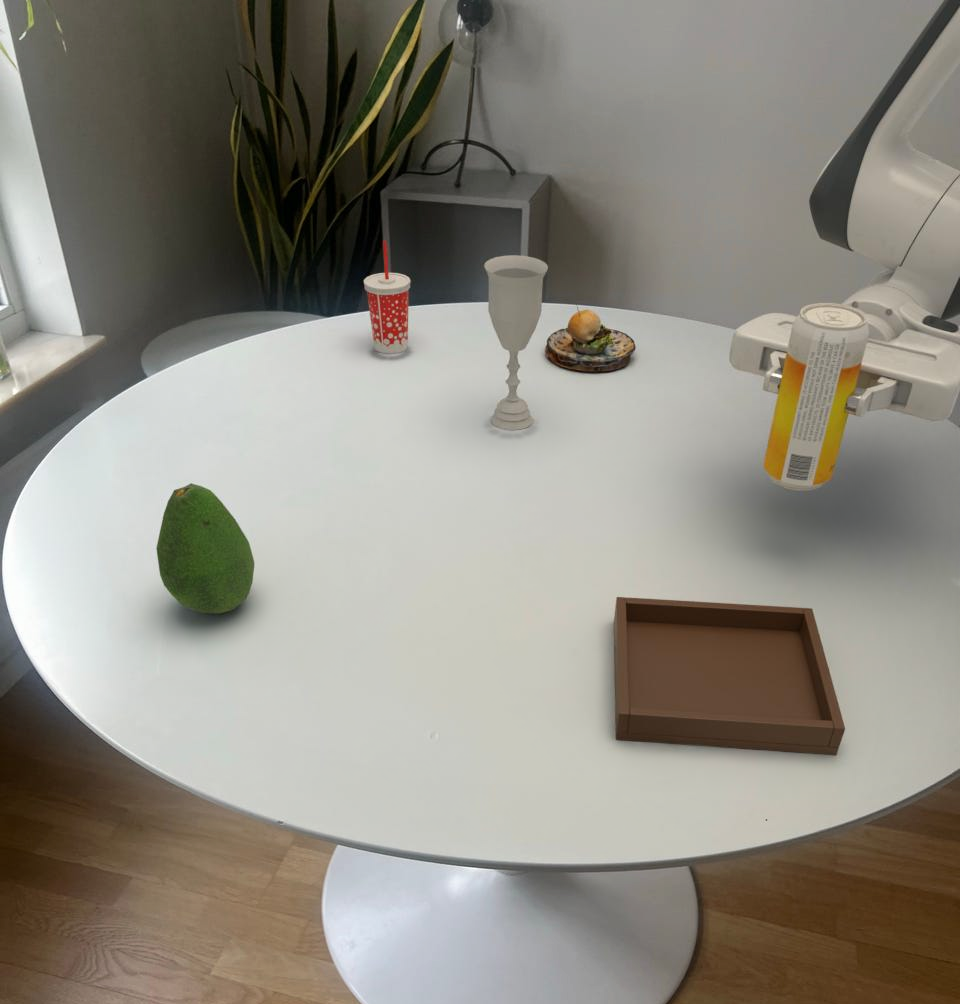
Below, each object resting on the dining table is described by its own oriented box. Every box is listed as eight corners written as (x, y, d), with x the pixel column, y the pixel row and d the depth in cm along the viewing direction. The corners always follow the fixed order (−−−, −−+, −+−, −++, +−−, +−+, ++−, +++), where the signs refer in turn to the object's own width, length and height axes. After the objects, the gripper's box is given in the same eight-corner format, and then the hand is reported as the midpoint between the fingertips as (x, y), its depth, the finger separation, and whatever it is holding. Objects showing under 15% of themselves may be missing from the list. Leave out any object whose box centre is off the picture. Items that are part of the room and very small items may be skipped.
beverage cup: (421, 342, 133) (417, 237, 124) (400, 359, 128) (394, 251, 120) (382, 335, 135) (375, 230, 126) (360, 351, 130) (351, 244, 121)
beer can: (827, 463, 90) (867, 303, 80) (833, 496, 85) (877, 331, 76) (760, 457, 91) (792, 298, 81) (763, 490, 86) (797, 326, 76)
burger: (646, 369, 126) (652, 312, 121) (559, 377, 124) (562, 320, 119) (616, 334, 135) (621, 280, 130) (535, 341, 133) (537, 286, 128)
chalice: (475, 410, 117) (475, 258, 105) (528, 403, 118) (533, 252, 107) (494, 438, 111) (497, 281, 100) (549, 429, 113) (558, 274, 102)
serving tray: (805, 633, 84) (812, 608, 82) (836, 755, 73) (845, 728, 71) (613, 621, 85) (616, 596, 83) (615, 739, 74) (618, 713, 72)
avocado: (217, 570, 91) (194, 457, 83) (278, 599, 88) (259, 484, 80) (151, 613, 86) (119, 496, 78) (212, 645, 83) (185, 527, 75)
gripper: (769, 286, 93) (706, 331, 85) (991, 334, 84) (945, 391, 75) (757, 349, 97) (696, 398, 89) (968, 401, 88) (921, 462, 80)
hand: (812, 395), depth 82 cm, fingers closed on beer can, 6 cm apart
